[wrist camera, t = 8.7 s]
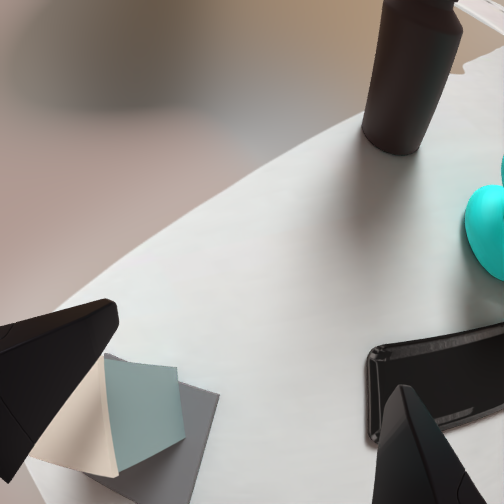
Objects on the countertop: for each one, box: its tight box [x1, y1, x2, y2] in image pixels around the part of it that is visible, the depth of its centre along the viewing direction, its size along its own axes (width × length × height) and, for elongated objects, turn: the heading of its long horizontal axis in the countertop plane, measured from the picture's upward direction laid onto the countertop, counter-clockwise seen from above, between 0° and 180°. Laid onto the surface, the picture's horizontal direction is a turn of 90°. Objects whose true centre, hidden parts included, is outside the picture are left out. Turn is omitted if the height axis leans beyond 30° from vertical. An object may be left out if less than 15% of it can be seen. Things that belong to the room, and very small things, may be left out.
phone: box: [367, 322, 504, 444], centre depth 18 cm, size 8×1×15 cm
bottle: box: [362, 0, 463, 155], centre depth 19 cm, size 7×7×20 cm
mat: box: [81, 353, 220, 504], centre depth 19 cm, size 12×10×1 cm
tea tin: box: [29, 355, 185, 478], centre depth 15 cm, size 6×6×10 cm
